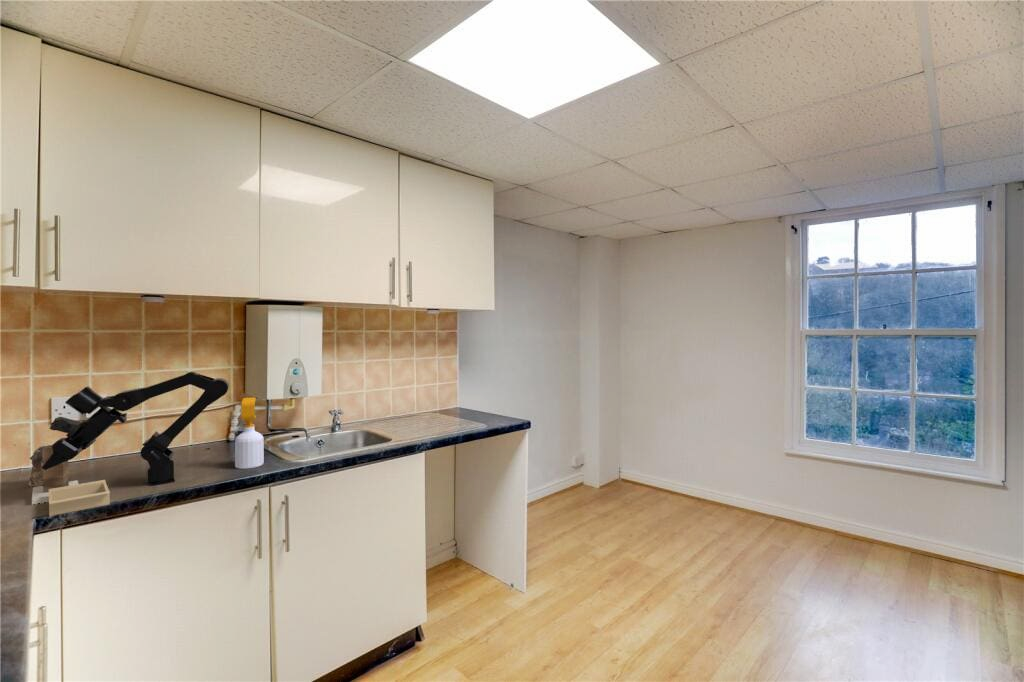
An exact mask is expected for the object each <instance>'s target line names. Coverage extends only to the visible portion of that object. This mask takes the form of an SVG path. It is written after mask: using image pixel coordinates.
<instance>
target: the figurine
mask: <svg viewBox="0 0 1024 682" xmlns="http://www.w3.org/2000/svg"><path fill="white" fill-rule="evenodd" d="M46 446H47V445H41V446H39V447H38V448H36V449H35V450H34V451H33V454H32V456H30V457H29V460H31V465H32V466H31V467H32V468H31V470H30V476H29V479H28V486H29V485H30V487H32V486H35V487H39V486H42V485H43V469H42V467H43V462H42V449H43V448H44V447H46Z"/></svg>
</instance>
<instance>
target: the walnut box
mask: <svg viewBox="0 0 1024 682" xmlns="http://www.w3.org/2000/svg"><path fill="white" fill-rule="evenodd" d="M52 445H53V444H50V445H49V444H48V445H45V446H46V447H44V448H43V449H42V462H43V465H44V464H45V463H46V462H47V460H48V459H49V458H50V456H51V455H52V454H53V449H52ZM69 476H70V475H69V460H68V461H66V462H63V463H61V464H58V465H56V466H54V467H51V468H49V469H47V470H44V469H43V493H47V492H49V489H52V488H58V487H64V486H69V482H70V481H69V479H70V478H69Z"/></svg>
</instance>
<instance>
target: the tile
mask: <svg viewBox="0 0 1024 682" xmlns="http://www.w3.org/2000/svg"><path fill="white" fill-rule="evenodd" d="M76 484H80V483H79V481H78V480H77V479H76V480H70V481H69V486H70V485H76ZM31 494H32V495H31V506H34V505H33V504H35V505H39V504H38V503H40V504H45V503H44V502H46V503H49V492H47V493H43V486H35V487H32V493H31Z"/></svg>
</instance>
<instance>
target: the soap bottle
mask: <svg viewBox="0 0 1024 682" xmlns="http://www.w3.org/2000/svg"><path fill="white" fill-rule="evenodd" d="M256 399H257V397H244V398H242V401H241V420H244V421H245V422H246V424H244V425H243V432H241V433H239V434H238V435H237V436H236V437H235V439H234V466H235V468H236V469H240V470H245V469H246V470H249V469H255V468H258V467H260V466H263V465H264V462H265V461H264V458H265V456H264V453H265V451H264V450H265V449H264V442H265V440H264V438H265V437H264V436H263V434H262V433H260V432H258V431H256V430H255V424H254V423H253V421H254V419H256V418H257V415H255V414H256V412H255V411H256V410H255V409H256V408H255V405H256Z"/></svg>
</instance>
